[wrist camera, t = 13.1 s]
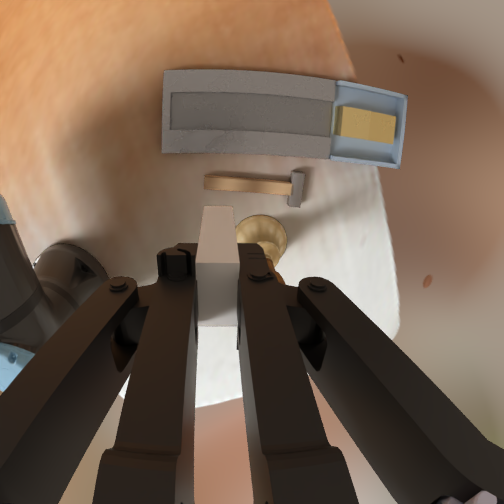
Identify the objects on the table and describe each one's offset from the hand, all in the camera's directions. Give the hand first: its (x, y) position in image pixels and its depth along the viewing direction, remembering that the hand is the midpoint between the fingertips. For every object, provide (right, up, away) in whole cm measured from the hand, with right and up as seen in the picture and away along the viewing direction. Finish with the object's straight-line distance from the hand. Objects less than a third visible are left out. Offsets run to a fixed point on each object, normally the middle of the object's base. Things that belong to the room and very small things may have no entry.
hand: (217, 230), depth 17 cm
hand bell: (+3, 0, +30) cm, 30 cm away
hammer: (+1, +8, +26) cm, 27 cm away
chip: (+19, +17, +23) cm, 34 cm away
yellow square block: (+15, +17, +22) cm, 32 cm away
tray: (+18, +17, +23) cm, 34 cm away
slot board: (+1, +17, +21) cm, 27 cm away
